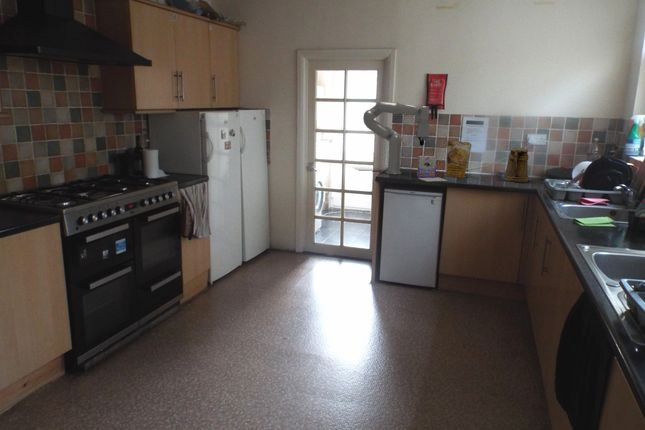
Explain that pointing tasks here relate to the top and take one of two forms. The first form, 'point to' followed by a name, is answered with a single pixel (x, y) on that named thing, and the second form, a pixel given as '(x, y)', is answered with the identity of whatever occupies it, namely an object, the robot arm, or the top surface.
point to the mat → (432, 179)
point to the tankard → (517, 166)
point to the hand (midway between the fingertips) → (421, 145)
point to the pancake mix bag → (457, 158)
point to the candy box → (426, 166)
